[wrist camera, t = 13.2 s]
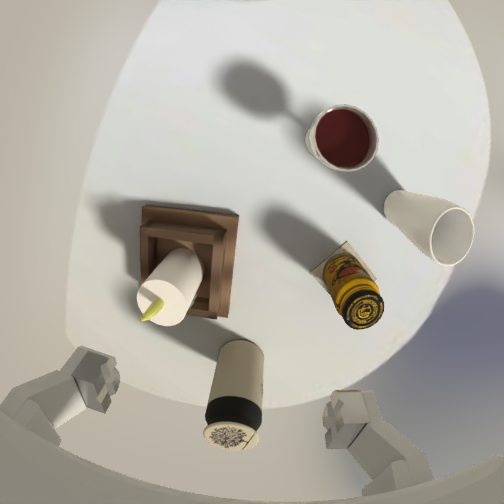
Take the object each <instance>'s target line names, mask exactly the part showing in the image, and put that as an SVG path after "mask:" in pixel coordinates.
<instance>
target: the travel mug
mask: <svg viewBox="0 0 504 504" xmlns="http://www.w3.org/2000/svg"><path fill="white" fill-rule="evenodd" d="M263 367H264V355H263V352H262V350H261V349H260V348H259V347H258V346H257V345H255V344H254V343H251V342H249V341H244V340H235V341H231V342H228V343H226V344H225V345H224V346H223V347H222V348H221V349H220V352H219V356H218V361H217V365H216V369H215V374H214V378H213V383H212V387H211V391H210V396H209V400H208V405H207V410H206V414H205V419H206V421H207V423H208V426H207V427H206V428H205V429H204V431H203V435H204V437H205V439H206V440H207V441H208V442H209V443H210V444H212V445H214V446H216V447H219V448H222V449H226V450H245V449H249V448H252V447H253V446H255V445H256V444H257V443H258V441H259V436H258V434H257V432H256V431H257V429H258V428H259V427H260V425H261V422H262V421H261V420H262V397H263Z"/></svg>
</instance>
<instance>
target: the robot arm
mask: <svg viewBox="0 0 504 504" xmlns="http://www.w3.org/2000/svg"><path fill="white" fill-rule="evenodd" d="M116 364H117V363H116V359H115V357H113V356H110V355H107V354H104V353H101V352H98V351H95V350H93V349H90V348H87V347H84V346H80V347H78V348H77V349H76V350H75V352H74V353H73V354H72V356H71V357H70V358H69V360H68V361H67V362H66V364H65V365H64V366H63V368H62V369H61V370H60V371H58V370H56V371H53V372H51V373H49V374H46V375H44V376H42V377H39V378H37V379H34V380H32V381H29V382H27V383H24V384H22V385H19V386H17V387H14V388H13V389H12V390H11V391H10V393H9V394H8V395H7V397H6V398H5V400H4V401H3V402H2V403H1V405H0V504H504V457H502V456H501V455H494V456H491V457H489V458H487V459H485V460H483V461H481V462H478V463H477V464H474V465H472V466H469V467H467V468H465V469H462V470H460V471H457V472H454V473H451V474H449V475H446V476H443V477H440V478H437V479H433V475H432V472H431V469H430V466H429V463H428V460H427V457H426V454H425V453H424V452H422V451H421V450H420V449H418V448H417V447H416V446H415V445H414V444H413V443H411V442H410V441H409V440H408V439H407V438H405V437H404V436H403V435H402V434H400V433H399V432H398V431H397V430H396V429H395V428H393V427H392V426H391V425H390V424H389V423H388V422H383V419H382V416H381V413H380V410H379V407H378V404H377V401H376V398H375V396H374V392H373V391H372V390H335V391H333V392H332V394H331V396H330V397H331V402H329V403H327V404H326V407H325V408H324V412H323V425H324V427H325V428H326V429H327V430H328V431H327V433H326V434H325V440H326V446H327V449H348V451H349V452H350V453H351V455H352V456H353V457H354V458H355V459H356V460H357V462H358V463H359V464H360V465H361V467H362V468H363V469H364V470H365V471H366V473H367V474H368V475H369V476H370V477H371V479H372V481H371V482H370V483H368V484H367V485H366V486H365V487H364V488H363V489H362V495H363V496H362V497H356V498H348V499H339V500H329V501H315V502H261V501H247V500H236V499H227V498H219V497H212V496H206V495H200V494H195V493H190V492H184V491H180V490H176V489H171V488H167V487H163V486H159V485H156V484H152V483H149V482H145V481H142V480H139V479H135V478H132V477H129V476H126V475H123V474H121V473H118V472H115V471H112V470H110V469H107V468H104V467H102V466H99V465H96V464H95V463H92V462H90V461H87V460H85V459H83V458H81V457H79V456H77V455H74V454H72V453H70V452H68V451H66V450H64V449H62V448H60V447H58V446H59V444H60V443H61V438H60V436H59V435H58V434H57V432H56V431H55V428H57V427H58V426H60V425H61V424H63V423H65V422H66V421H68V420H69V419H71V418H72V417H74V416H76V415H77V414H79V413H80V412H82V411H83V410H85V409H86V408H87V407H88V408H91V409H93V410H96V411H99V412H102V413H106V411H107V409H108V407H109V405H110V403H111V398H110V396H111V395H113V394H115V393H116V391H117V389H118V387H119V383H120V375H119V371H118V370H117V369H116V368H115V366H116Z"/></svg>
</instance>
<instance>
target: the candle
mask: <svg viewBox="0 0 504 504" xmlns="http://www.w3.org/2000/svg"><path fill="white" fill-rule="evenodd" d="M204 274H205V266H204V263H203V260H202V259H201V257H200V256H199V255H198V254H197V253H196V252H194V251H192V250H190V249H187V248H178V249H175V250H173V251H171V252H170V253H169V254H168V255H167V256H166V257H165V258H164V260H163V261H162V262H161V263H160V264H159V265H158V266H157V268H156V269H155V270H154V271H153V272H152V273H151V274H150V276H149V277H148V278H147V279H146V280H145V282H144V283H143V284H142V285H141V286H140V288H139V289H138V292H137V303H138V306H139V308H140V310H141V312H142V313H143V315H142V317H141V319H140V321H147V320H150V321H152V322H154V323H156V324H158V325H162V326H172V325H176V324H178V323H180V322H181V321H182V320H183V319H184V317H185V315H186V313H187V311H188V308H190V307H191V306H192V304H193V303H194V301H195V299H196V297H197V295H198V294H197V293H196V291H197V289H198V287H199V285H200V283H201V281H202V279H203V277H204Z"/></svg>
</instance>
